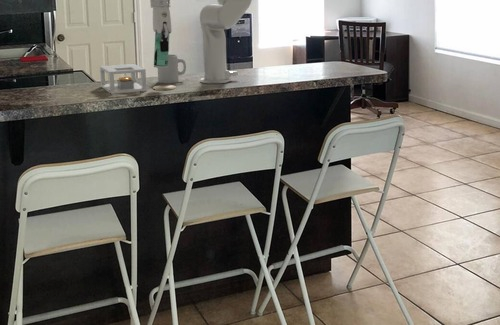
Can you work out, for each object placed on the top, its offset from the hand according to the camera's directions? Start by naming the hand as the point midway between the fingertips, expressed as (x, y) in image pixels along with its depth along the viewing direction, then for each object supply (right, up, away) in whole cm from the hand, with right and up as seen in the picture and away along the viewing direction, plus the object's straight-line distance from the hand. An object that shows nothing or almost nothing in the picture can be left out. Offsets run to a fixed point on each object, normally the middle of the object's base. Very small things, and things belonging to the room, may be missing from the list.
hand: (162, 50), depth 273 cm
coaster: (0, -14, +4) cm, 15 cm away
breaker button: (-14, -15, 0) cm, 21 cm away
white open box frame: (-16, -15, +4) cm, 22 cm away
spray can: (-1, -7, +2) cm, 7 cm away
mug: (+2, -10, +21) cm, 23 cm away
